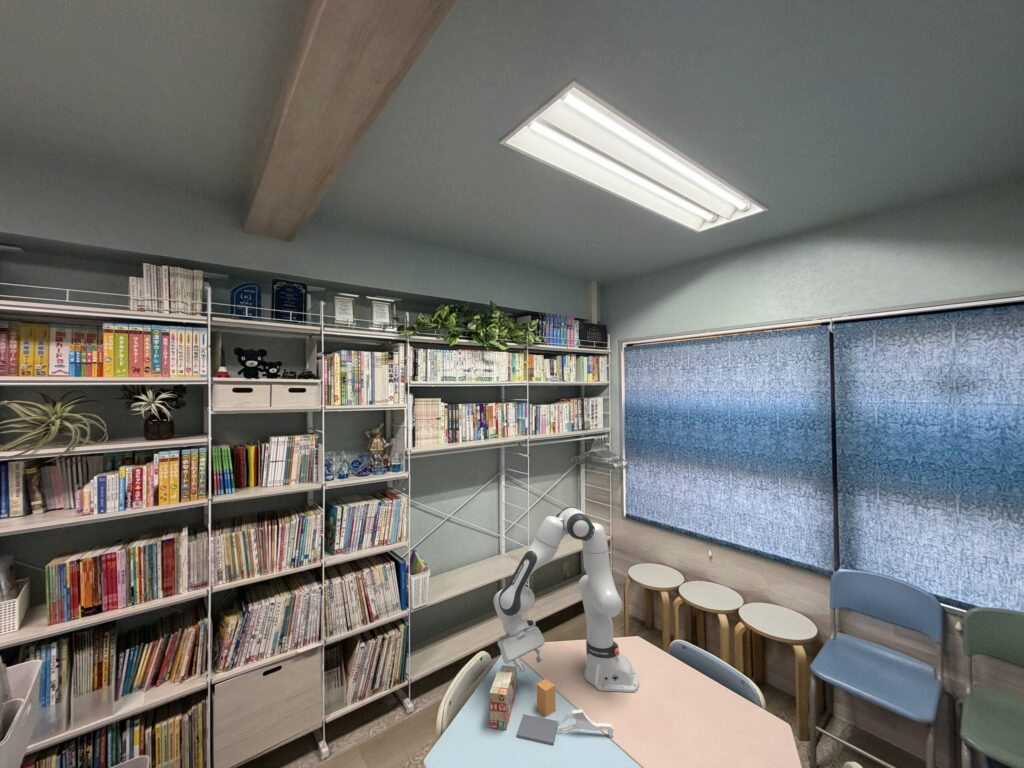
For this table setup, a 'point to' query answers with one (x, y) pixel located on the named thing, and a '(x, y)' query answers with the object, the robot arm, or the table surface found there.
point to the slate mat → (537, 729)
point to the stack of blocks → (502, 697)
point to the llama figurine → (584, 723)
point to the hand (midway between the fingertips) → (531, 666)
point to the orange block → (546, 697)
